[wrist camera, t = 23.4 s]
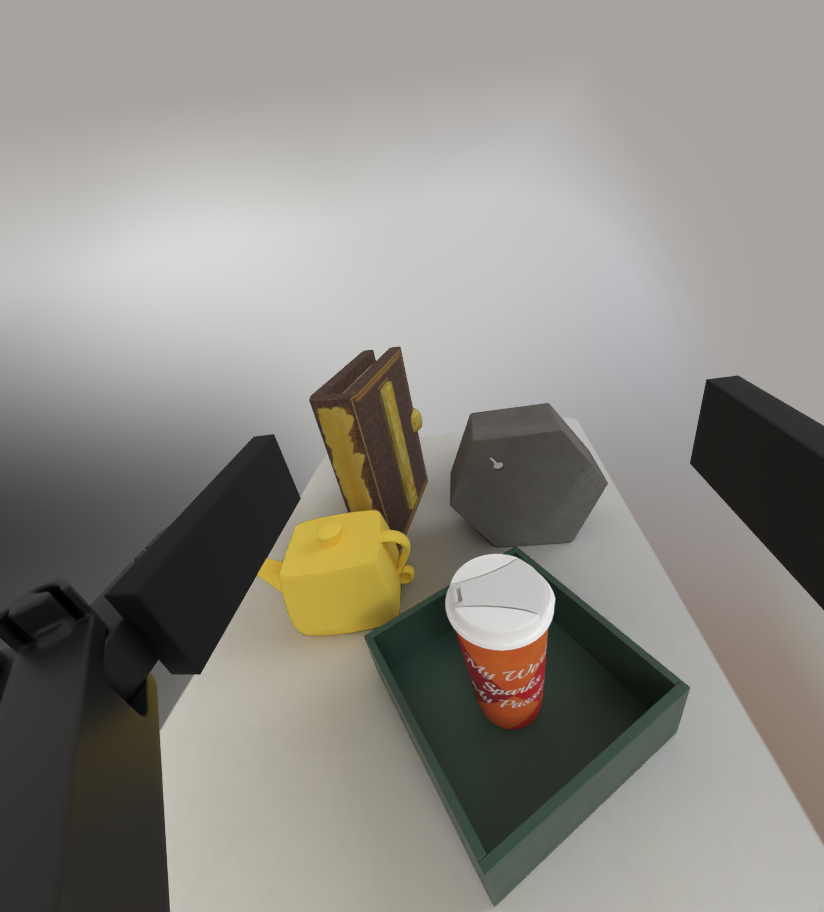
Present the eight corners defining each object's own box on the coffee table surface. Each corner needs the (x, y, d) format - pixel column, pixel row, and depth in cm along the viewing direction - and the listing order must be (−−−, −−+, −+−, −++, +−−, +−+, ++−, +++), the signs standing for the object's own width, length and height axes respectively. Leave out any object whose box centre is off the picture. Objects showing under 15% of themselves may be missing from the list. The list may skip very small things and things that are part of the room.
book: (403, 558, 56) (359, 398, 44) (350, 554, 59) (295, 402, 47) (437, 471, 74) (412, 340, 62) (395, 472, 77) (363, 346, 64)
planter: (610, 475, 56) (523, 372, 49) (631, 510, 49) (533, 396, 43) (513, 532, 63) (425, 449, 56) (519, 569, 56) (421, 479, 50)
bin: (677, 731, 33) (690, 687, 30) (494, 907, 27) (484, 876, 23) (518, 585, 49) (515, 545, 45) (379, 674, 42) (363, 635, 39)
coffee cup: (473, 750, 34) (449, 646, 26) (459, 660, 41) (437, 557, 34) (570, 738, 33) (574, 627, 26) (540, 648, 40) (535, 541, 33)
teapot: (261, 650, 48) (219, 583, 42) (286, 573, 58) (255, 511, 52) (423, 625, 46) (403, 553, 40) (418, 551, 57) (402, 485, 51)
